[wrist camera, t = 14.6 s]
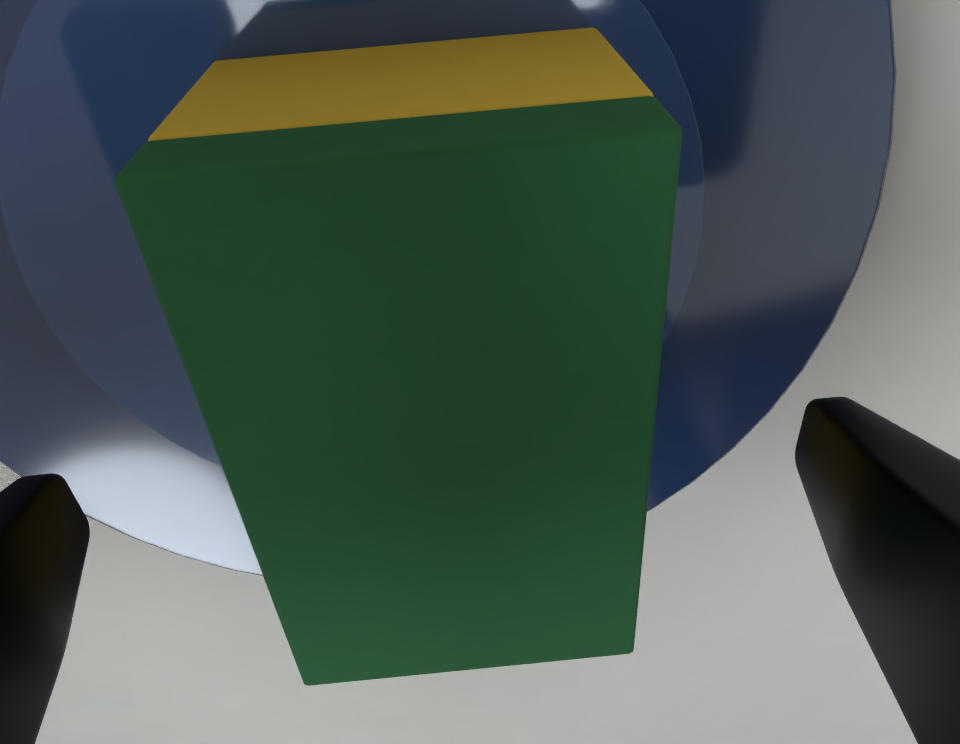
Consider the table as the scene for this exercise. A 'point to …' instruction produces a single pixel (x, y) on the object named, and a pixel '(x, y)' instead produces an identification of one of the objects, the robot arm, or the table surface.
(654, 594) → the table surface
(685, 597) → the table surface
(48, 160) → the plate
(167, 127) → the sponge
